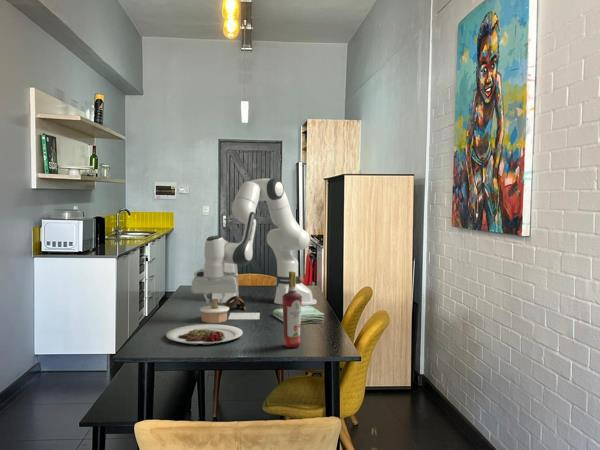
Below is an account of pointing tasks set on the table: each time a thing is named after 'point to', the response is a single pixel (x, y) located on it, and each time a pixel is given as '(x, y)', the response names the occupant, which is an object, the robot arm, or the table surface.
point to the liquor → (292, 314)
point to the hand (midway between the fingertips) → (214, 303)
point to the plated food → (204, 334)
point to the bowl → (214, 317)
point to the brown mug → (235, 302)
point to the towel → (304, 315)
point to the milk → (227, 268)
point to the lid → (214, 307)
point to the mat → (244, 316)
